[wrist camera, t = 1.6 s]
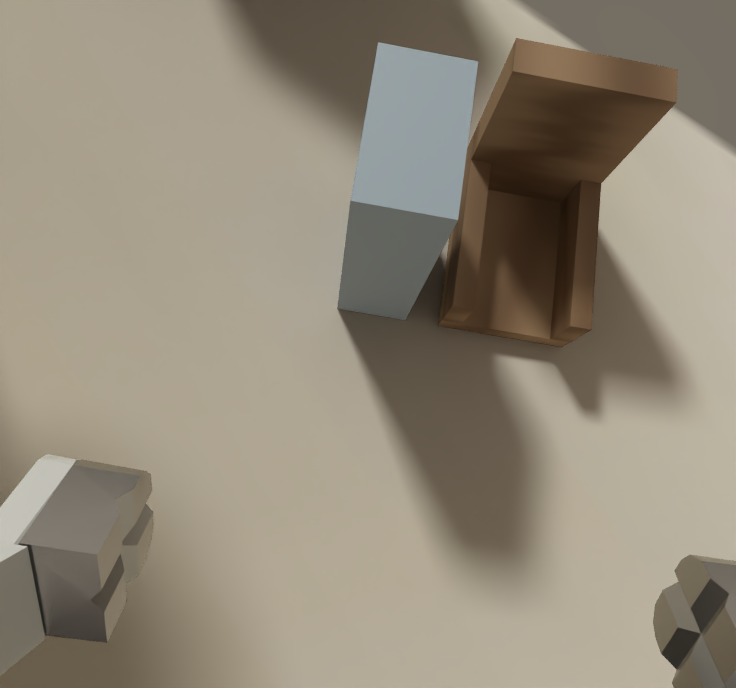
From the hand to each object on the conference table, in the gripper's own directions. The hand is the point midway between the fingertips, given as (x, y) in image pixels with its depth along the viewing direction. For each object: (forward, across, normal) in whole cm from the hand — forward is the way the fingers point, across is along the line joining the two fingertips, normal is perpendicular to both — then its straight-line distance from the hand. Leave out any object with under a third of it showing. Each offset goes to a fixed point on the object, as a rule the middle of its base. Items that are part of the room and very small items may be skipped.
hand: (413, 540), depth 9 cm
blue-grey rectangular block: (+23, +1, +5) cm, 24 cm away
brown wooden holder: (+24, -6, +4) cm, 25 cm away
